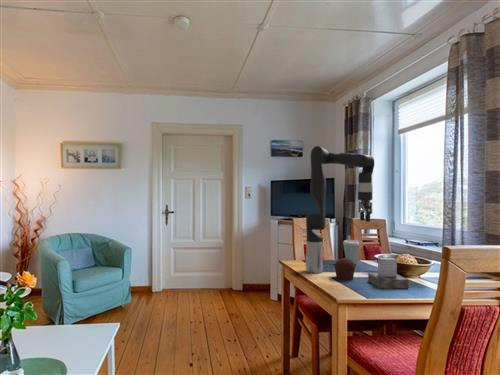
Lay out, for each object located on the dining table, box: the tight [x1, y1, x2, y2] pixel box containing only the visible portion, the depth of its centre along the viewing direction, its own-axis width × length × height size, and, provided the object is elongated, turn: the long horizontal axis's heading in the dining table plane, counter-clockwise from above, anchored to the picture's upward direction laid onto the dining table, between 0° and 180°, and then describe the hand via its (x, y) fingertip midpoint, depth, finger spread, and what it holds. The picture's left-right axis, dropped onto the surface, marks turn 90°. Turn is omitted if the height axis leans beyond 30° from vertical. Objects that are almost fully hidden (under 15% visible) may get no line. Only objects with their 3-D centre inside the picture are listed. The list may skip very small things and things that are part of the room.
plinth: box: [367, 272, 409, 289], centre depth 171 cm, size 14×14×4 cm
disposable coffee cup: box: [342, 239, 360, 265], centre depth 223 cm, size 11×11×15 cm
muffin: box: [333, 257, 357, 281], centre depth 184 cm, size 12×11×10 cm
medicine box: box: [377, 257, 398, 277], centre depth 171 cm, size 8×4×9 cm, turn 91°
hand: (364, 221), depth 188 cm, fingers open, 8 cm apart
